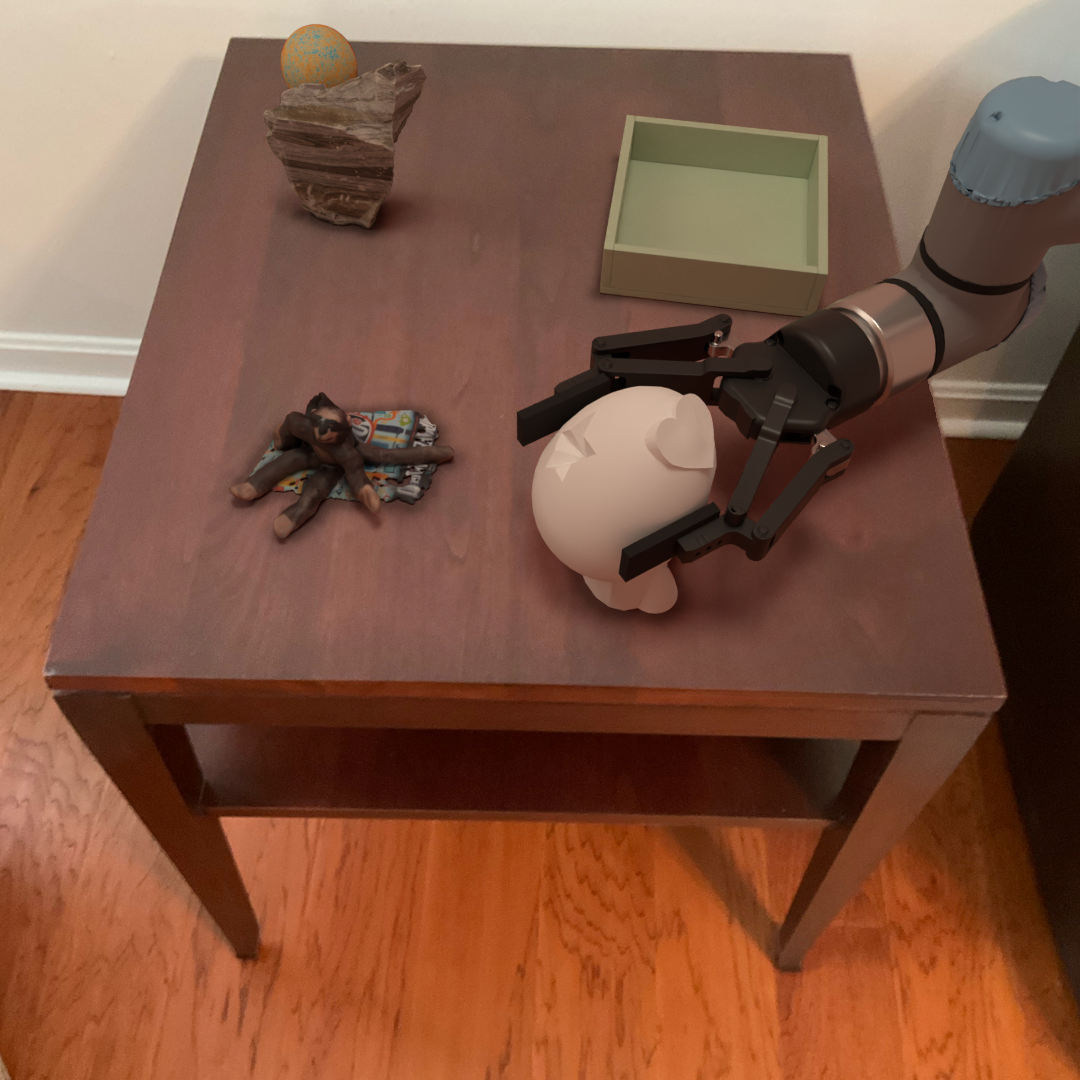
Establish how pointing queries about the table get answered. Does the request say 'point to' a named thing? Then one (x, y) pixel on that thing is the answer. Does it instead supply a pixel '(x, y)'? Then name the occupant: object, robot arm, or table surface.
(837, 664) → the table surface
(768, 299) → the tote
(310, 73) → the ball
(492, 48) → the table surface
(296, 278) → the table surface
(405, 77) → the rock
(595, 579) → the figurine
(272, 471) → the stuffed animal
